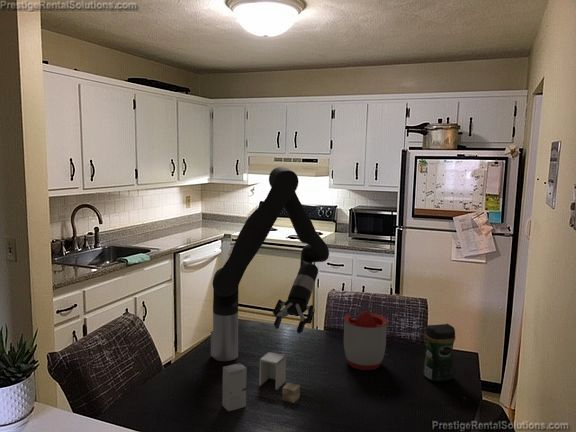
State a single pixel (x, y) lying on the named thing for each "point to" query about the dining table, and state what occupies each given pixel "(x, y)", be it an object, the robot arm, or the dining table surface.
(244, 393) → the skincare box
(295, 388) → the cube
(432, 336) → the coffee jar
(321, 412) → the dining table surface
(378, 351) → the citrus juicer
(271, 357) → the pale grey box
